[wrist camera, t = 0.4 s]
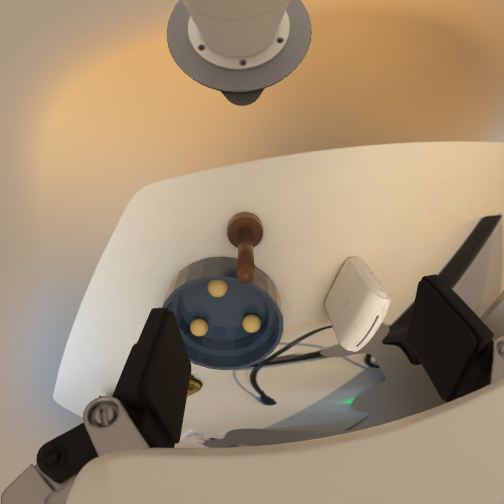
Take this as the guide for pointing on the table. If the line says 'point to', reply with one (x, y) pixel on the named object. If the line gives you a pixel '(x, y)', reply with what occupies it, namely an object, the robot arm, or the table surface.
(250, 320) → the dough ball
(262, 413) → the table surface
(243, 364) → the bowl
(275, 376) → the table surface
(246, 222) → the wooden dough tamper
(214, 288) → the dough ball
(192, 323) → the dough ball
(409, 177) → the table surface
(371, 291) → the photo printer
